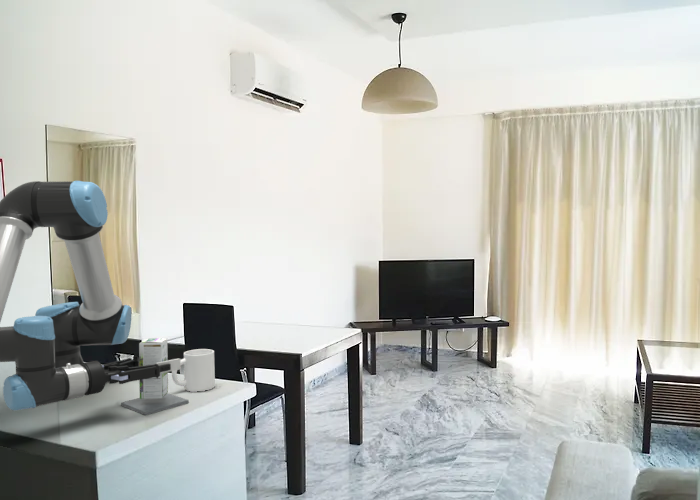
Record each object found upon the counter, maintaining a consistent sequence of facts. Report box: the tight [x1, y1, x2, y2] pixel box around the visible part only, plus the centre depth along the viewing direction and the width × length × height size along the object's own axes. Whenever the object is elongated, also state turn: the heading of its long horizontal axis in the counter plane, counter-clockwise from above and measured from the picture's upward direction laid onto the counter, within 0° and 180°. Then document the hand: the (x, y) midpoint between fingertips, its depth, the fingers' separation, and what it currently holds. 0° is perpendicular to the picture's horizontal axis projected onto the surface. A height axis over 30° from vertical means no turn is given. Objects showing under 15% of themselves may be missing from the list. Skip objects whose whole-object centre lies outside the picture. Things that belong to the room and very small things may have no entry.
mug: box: [171, 348, 216, 393], centre depth 156 cm, size 12×8×10 cm
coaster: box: [120, 392, 190, 416], centre depth 143 cm, size 12×12×1 cm
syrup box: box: [138, 337, 169, 399], centre depth 142 cm, size 6×6×14 cm
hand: (170, 361), depth 146 cm, fingers closed on syrup box, 8 cm apart
